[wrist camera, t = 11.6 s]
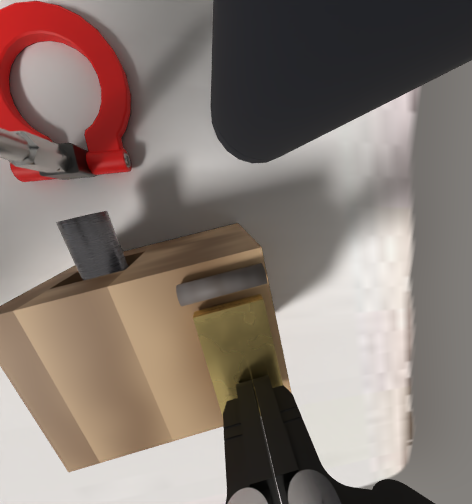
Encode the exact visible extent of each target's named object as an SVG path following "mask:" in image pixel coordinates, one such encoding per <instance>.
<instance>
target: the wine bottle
mask: <svg viewBox="0 0 472 504" xmlns="http://www.w3.org/2000/svg"><path fill="white" fill-rule="evenodd" d="M471 60H472V0H214V1H213V38H212V76H211V117H212V124H213V127H214V130H215V132H216V135H217V138H218V139H219V141H220V142H221V143H222V145H223V146H224V147H225V149H226V150H227V151H228V152H230V153H231V154H232V155H234V156H235V157H237V158H238V159H240V160H243V161H247V162H250V163H265V162H268V161H271V160H273V159H276V158H278V157H280V156H282V155H284V154H286V153H288V152H290V151H292V150H294V149H296V148H298V147H300V146H302V145H304V144H306V143H308V142H310V141H312V140H314V139H316V138H318V137H320V136H322V135H324V134H326V133H328V132H330V131H332V130H334V129H336V128H338V127H340V126H342V125H344V124H346V123H348V122H350V121H352V120H354V119H356V118H358V117H360V116H362V115H364V114H366V113H368V112H370V111H372V110H374V109H376V108H378V107H380V106H382V105H384V104H386V103H388V102H389V101H391V100H393V99H395V98H397V97H399V96H401V95H403V94H405V93H407V92H409V91H411V90H413V89H415V88H417V87H419V86H421V85H423V84H425V83H427V82H429V81H431V80H433V79H435V78H437V77H439V76H441V75H443V74H445V73H447V72H449V71H451V70H453V69H455V68H457V67H459V66H461V65H463V64H465V63H467V62H469V61H471Z"/></svg>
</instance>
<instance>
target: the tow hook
mask: <svg viewBox="0 0 472 504" xmlns="http://www.w3.org/2000/svg"><path fill="white" fill-rule="evenodd" d="M41 41H55V42H60V43H64V44H66V45H68V46H71V47H73V48H75V49H77V50H78V51H79V52H80V53H82V54H83V55H84V56H86V57H87V58H88V59H89V61H90V62H91V63H92V65H93V67H94V69H95V71H96V73H97V75H98V78H99V82H100V86H101V106H100V110H99V114H98V116H97V117H96V119H95V121H94V122H93V124H92V125H91V126H90V127H89V128H88V129H86V131H85V139H86V143H87V147H88V151H87V150H85V149H83V148H80V147H78V146H76V145H74V144H71V143H63V144H56V143H53V142H52V140H51V139H50V138H49V137H48V136H45V135H43V134H41V133H40V132H38V131H37V130H35V129H34V128H32V127H31V126H30V125H29V124H28V123H27V122H26V121H25V120H24V119H23V118H22V117H21V115H20V113H19V112H18V110H17V108H16V107H15V105H14V102H13V99H12V97H11V94H10V87H9V75H10V69H11V65H12V63H13V62H14V60H15V58H16V56H17V55H18V54H19V53H20V52H21V51H22V50H23V49H24V48H25V47H27V46H29V45H31V44H34V43H36V42H41ZM130 106H131V94H130V90H129V85H128V81H127V77H126V74H125V72H124V70H123V68H122V66H121V63H120V61H119V59H118V57H117V55H116V54H115V52H114V50H113V49H112V48H111V46H110V45H109V44H108V43H107V41H106V40H105V39H104V37H103V36H102V35H101V34H100V32H99V31H98V30H97V29H96V28H94V27H93V26H92V25H91V24H89V23H88V22H87V21H86V20H84V19H83V18H82V17H81V16H80V15H77V14H75V13H73V12H71V11H69V10H67V9H65V8H63V7H61V6H59V5H54V4H50V3H45V2H40V1H30V2H19V3H14V4H11V5H9V6H7V7H5V8H2V9H0V158H3V159H7V160H8V161H9V162H10V167H11V170H12V172H13V174H14V176H15V177H16V178H17V179H18V180H20V181H22V182H30V181H40V180H50V179H62V180H65V179H75V178H85V177H94V176H96V175H99V174H109V173H119V172H129V171H131V162H130V158H129V155H128V153H127V151H126V150H125V149H123V144H122V139H121V137H122V136H123V134H124V133H125V131H126V128H127V124H128V120H129V117H130Z"/></svg>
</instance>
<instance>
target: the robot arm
mask: <svg viewBox="0 0 472 504" xmlns="http://www.w3.org/2000/svg"><path fill="white" fill-rule="evenodd" d="M253 383H254V387H255V391H256V395H255V391H254V387H253V384H252V380H249V381H245V382H242V383H238V384H236V390H237V398H236V399H233V400H229V401H227V402H226V405H225V409H224V412H223V426H224V440H225V442H224V444H225V462H226V479H227V499H226V504H281V502H280V498H279V493H280V497H281V501H282V504H435V503H433V502H432V501H430V500H428V499H427V498H425V497H424V496H422V495H421V494H419V493H418V492H416V491H415V490H413V489H412V488H410V487H408V486H407V485H405V484H403V483H401V482H399V481H395V480H391V479H385V480H381V481H379V482H378V483H376V484H375V486H374V487H373V489H372V490H369V489H361V488H354V487H349V486H345V485H343V484H341V483H339V482H337V481H336V480H334V479H333V478H332V477H331V476H330V475H329V474H328V473H327V472H326V471H325V469H324V468H323V466H322V464H321V462H320V460H319V458H318V455H317V453H316V451H315V448H314V446H313V443H312V441H311V438H310V436H309V434H308V431H307V429H306V426H305V424H304V421H303V419H302V417H301V414H300V412H299V409H298V407H297V404H296V402H295V400H294V397H293V395H292V393H291V392H290V391H289V390H288V389H287V388H286V387H285V386H284V385H282V386H278V387H275V388H272V385H271V382H270V379H269V376H268V375H266V376H263V377H259V378H256V379H253ZM256 396H257V399H256ZM257 400H258V403H257ZM258 405H259V407H258ZM259 409H260V411H259ZM260 413H261V415H260ZM261 418H262V419H261ZM262 422H263V423H262ZM263 426H264V428H263ZM264 431H265V432H264ZM265 435H266V436H265ZM266 439H267V441H266ZM267 444H268V445H267ZM268 448H269V450H268ZM269 452H270V454H269ZM270 457H271V458H270ZM271 461H272V463H271ZM272 465H273V467H272ZM273 470H274V472H273ZM274 474H275V476H274ZM275 478H276V480H275ZM276 482H277V485H276ZM277 486H278V489H277ZM278 490H279V493H278Z"/></svg>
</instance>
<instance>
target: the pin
mask: <svg viewBox="0 0 472 504" xmlns="http://www.w3.org/2000/svg"><path fill="white" fill-rule="evenodd" d="M57 225H58V228H59V230H60V232H61V234H62V236H63V238H64V241H65V243H66V245H67V247H68V249H69V252H70V254H71V256H72V258H73V260H74V263H75V265H76V267H77V269H78V271H79V274H80V276H81V278H82V280H83V281H84V280H88V279H92V278H96V277H100V276H104V275H107V274H111V273H115V272H119V271H123V270H126V269H127V268H128V264H127V261H126V259H125V256H124V254H123V251H122V248H121V246H120V243H119V241H118V238H117V236H116V233H115V230H114V228H113V225H112V223H111V220H110V217H109V215H108V212H107V211H104V212H99V213H94V214H90V215H85V216H81V217H77V218H72V219H68V220H64V221H60V222H57Z"/></svg>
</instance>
